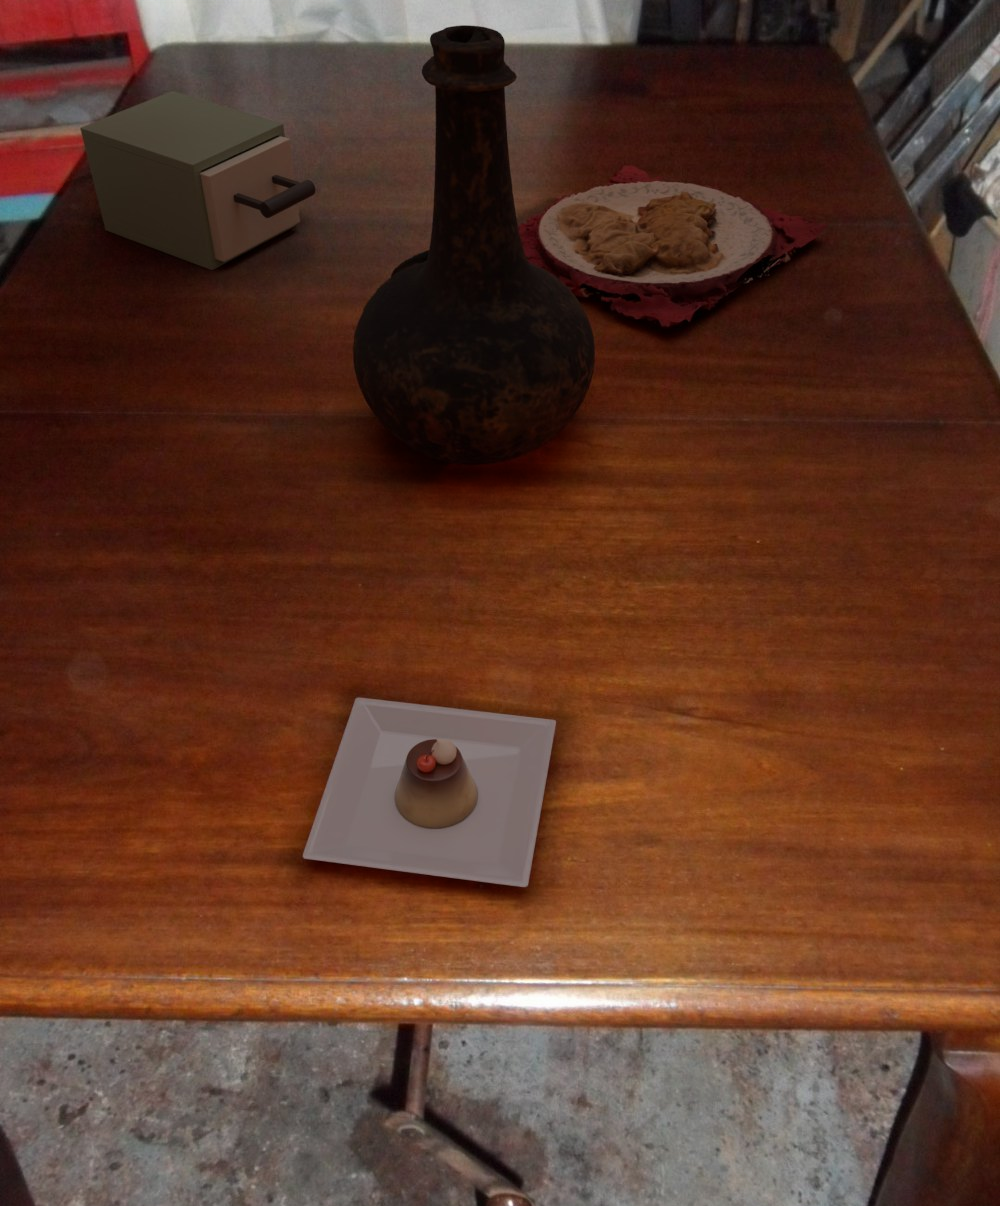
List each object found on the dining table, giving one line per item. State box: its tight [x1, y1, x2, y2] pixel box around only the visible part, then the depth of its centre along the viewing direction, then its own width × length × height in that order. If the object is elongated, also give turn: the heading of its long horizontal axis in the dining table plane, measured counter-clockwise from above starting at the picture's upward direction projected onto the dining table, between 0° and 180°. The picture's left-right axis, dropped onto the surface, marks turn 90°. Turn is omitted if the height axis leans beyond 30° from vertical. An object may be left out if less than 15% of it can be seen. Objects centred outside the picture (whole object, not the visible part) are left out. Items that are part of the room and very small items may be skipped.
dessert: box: [302, 697, 557, 888], centre depth 65 cm, size 12×12×5 cm
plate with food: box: [518, 165, 827, 328], centre depth 112 cm, size 24×26×3 cm
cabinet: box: [80, 90, 297, 271], centre depth 113 cm, size 15×12×10 cm
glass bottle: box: [352, 24, 596, 466], centre depth 82 cm, size 18×18×28 cm
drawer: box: [200, 136, 316, 262], centre depth 111 cm, size 18×10×8 cm, turn 55°
